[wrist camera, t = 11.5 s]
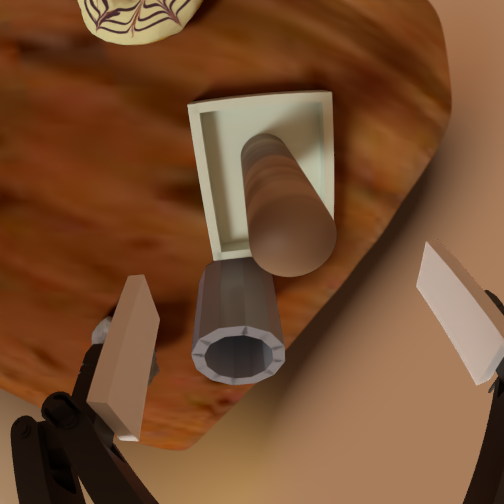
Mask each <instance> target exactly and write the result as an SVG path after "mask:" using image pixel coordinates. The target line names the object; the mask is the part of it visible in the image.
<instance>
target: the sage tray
mask: <svg viewBox="0 0 504 504" xmlns="http://www.w3.org/2000/svg"><path fill="white" fill-rule="evenodd" d="M188 112H189V118H190V125H191V132H192V138H193V144H194V151H195V157H196V163H197V169H198V175H199V181H200V187H201V193H202V198H203V204H204V210H205V215H206V221H207V226H208V232H209V237H210V243H211V248H212V253H213V259H214V261H216V260H225V259H234V258H243V257H252V254H251V251H250V246H249V237H248V227H247V217H246V207H245V197H244V188H243V178H242V168H241V151H242V148H243V146H244V144H245V143H246V142H247V141H248V140H249V139H250V138H252V137H253V136H256V135H259V134H271V135H274V136H276V137H278V138H279V139H281V140H282V141H283V142H284V144H285V145H286V147H287V148H288V149H289V151H290V152H291V154H292V155H293V157H294V158H295V160H296V161H297V163H298V164H299V166H300V167H301V169H302V170H303V172H304V174H305V175H306V177H307V178H308V180H309V181H310V183H311V184H312V186H313V187H314V189H315V191H316V192H317V194H318V195H319V197H320V198H321V200H322V202H323V203H324V205H325V207H326V208H327V210H328V211H329V213H330V215H331V216H332V218H333V220H334V133H333V105H332V92H329V91H326V90H304V91H284V92H270V93H258V94H247V95H238V96H229V97H221V98H214V99H207V100H200V101H193V102H191V103H189V104H188Z"/></svg>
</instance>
